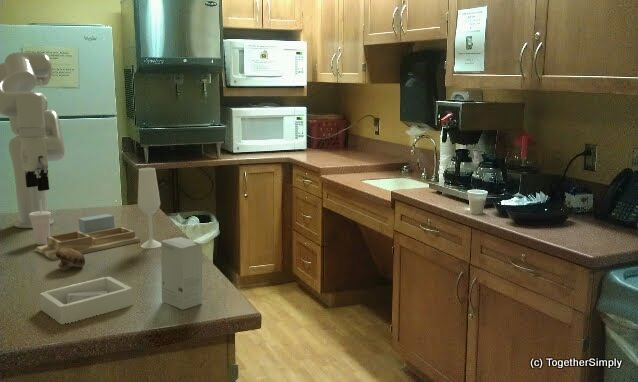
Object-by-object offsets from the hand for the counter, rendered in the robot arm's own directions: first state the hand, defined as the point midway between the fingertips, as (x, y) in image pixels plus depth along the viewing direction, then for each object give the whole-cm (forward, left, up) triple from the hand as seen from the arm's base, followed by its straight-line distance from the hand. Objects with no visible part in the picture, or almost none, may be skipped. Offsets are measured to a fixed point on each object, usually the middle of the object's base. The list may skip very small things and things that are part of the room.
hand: (37, 188), depth 189 cm
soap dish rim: (+63, -13, -18) cm, 66 cm away
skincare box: (+76, +4, -18) cm, 78 cm away
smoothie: (0, 0, -18) cm, 18 cm away
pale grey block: (+2, +17, -18) cm, 25 cm away
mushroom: (+32, -4, -18) cm, 36 cm away
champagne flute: (+27, +23, -18) cm, 39 cm away
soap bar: (+62, -12, -18) cm, 66 cm away
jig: (+14, +9, -18) cm, 24 cm away
